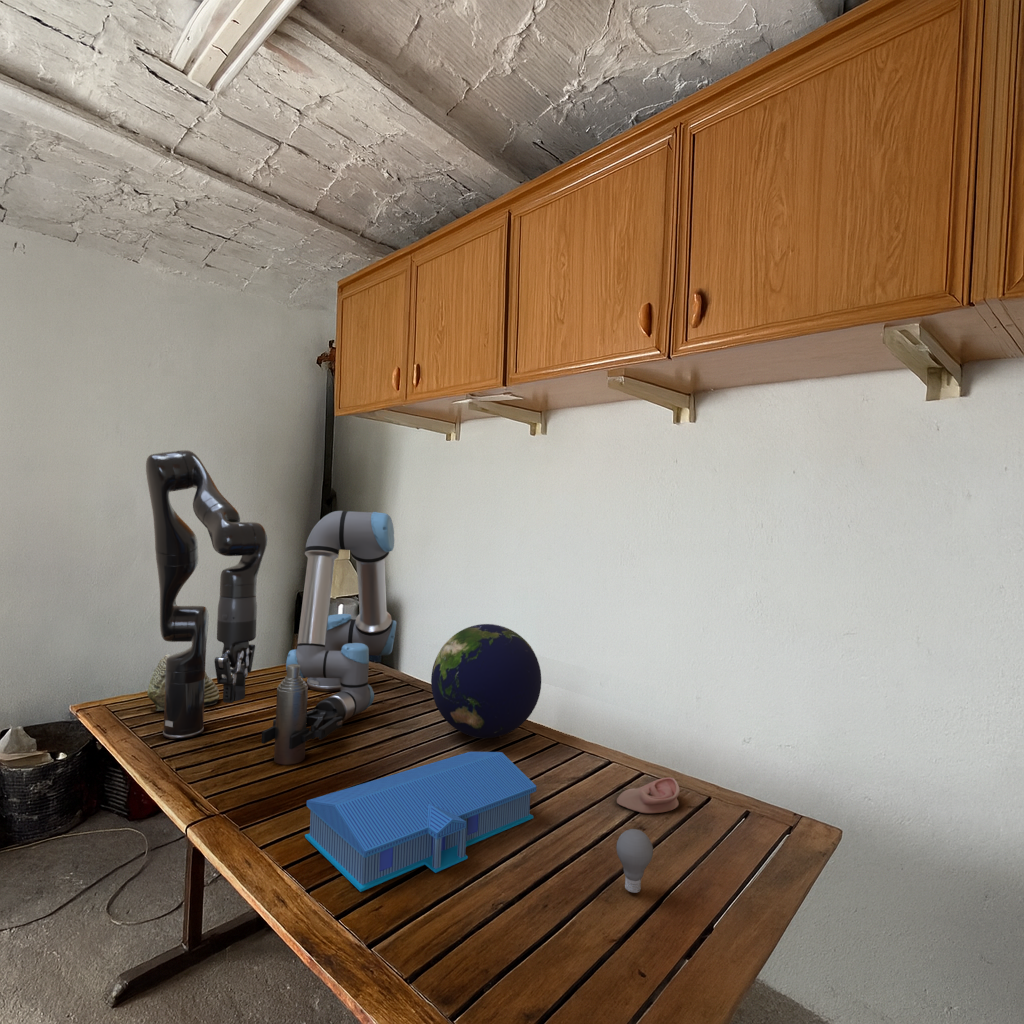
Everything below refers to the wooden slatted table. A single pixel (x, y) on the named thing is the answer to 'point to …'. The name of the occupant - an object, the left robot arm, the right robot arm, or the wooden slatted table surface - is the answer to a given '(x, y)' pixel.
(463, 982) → the wooden slatted table surface
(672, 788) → the anatomical model
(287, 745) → the bottle
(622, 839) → the light bulb
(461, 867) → the wooden slatted table surface
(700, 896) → the wooden slatted table surface
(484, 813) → the model building
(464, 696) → the globe
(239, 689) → the cap
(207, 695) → the fossil
